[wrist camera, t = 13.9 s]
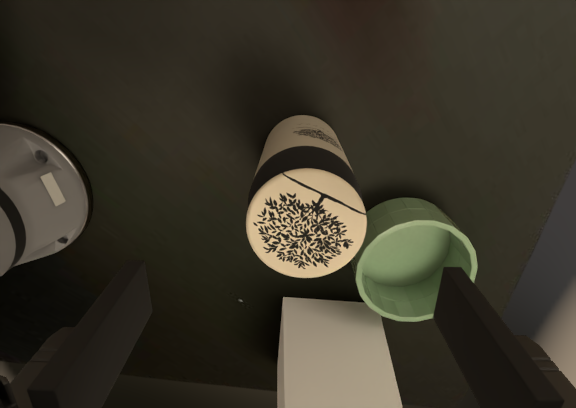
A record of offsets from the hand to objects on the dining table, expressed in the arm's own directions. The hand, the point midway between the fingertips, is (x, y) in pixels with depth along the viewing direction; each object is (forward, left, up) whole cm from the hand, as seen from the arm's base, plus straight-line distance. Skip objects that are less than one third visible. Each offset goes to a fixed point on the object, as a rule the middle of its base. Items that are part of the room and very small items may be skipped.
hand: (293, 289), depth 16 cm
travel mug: (+1, 0, -25) cm, 25 cm away
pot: (+13, -11, -25) cm, 30 cm away
